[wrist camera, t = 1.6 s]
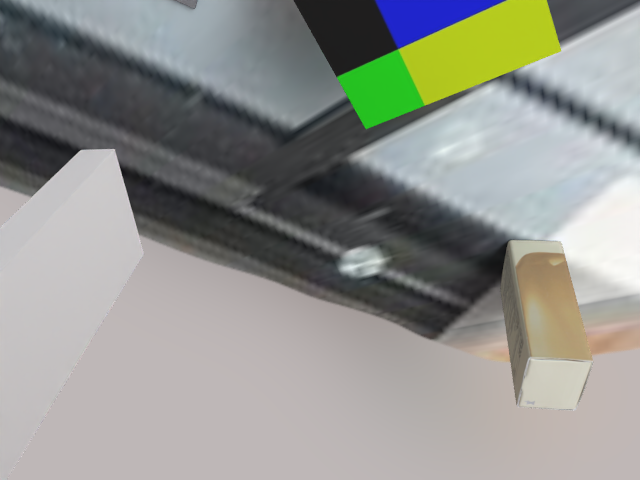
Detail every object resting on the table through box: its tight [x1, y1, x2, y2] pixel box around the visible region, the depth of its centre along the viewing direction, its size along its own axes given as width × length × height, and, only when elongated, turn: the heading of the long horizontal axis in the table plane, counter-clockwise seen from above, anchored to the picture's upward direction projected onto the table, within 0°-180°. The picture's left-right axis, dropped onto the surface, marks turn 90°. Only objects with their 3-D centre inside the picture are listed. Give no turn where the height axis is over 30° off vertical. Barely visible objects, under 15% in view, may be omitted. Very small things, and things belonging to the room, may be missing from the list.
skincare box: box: [500, 240, 593, 410], centre depth 45 cm, size 6×4×12 cm
